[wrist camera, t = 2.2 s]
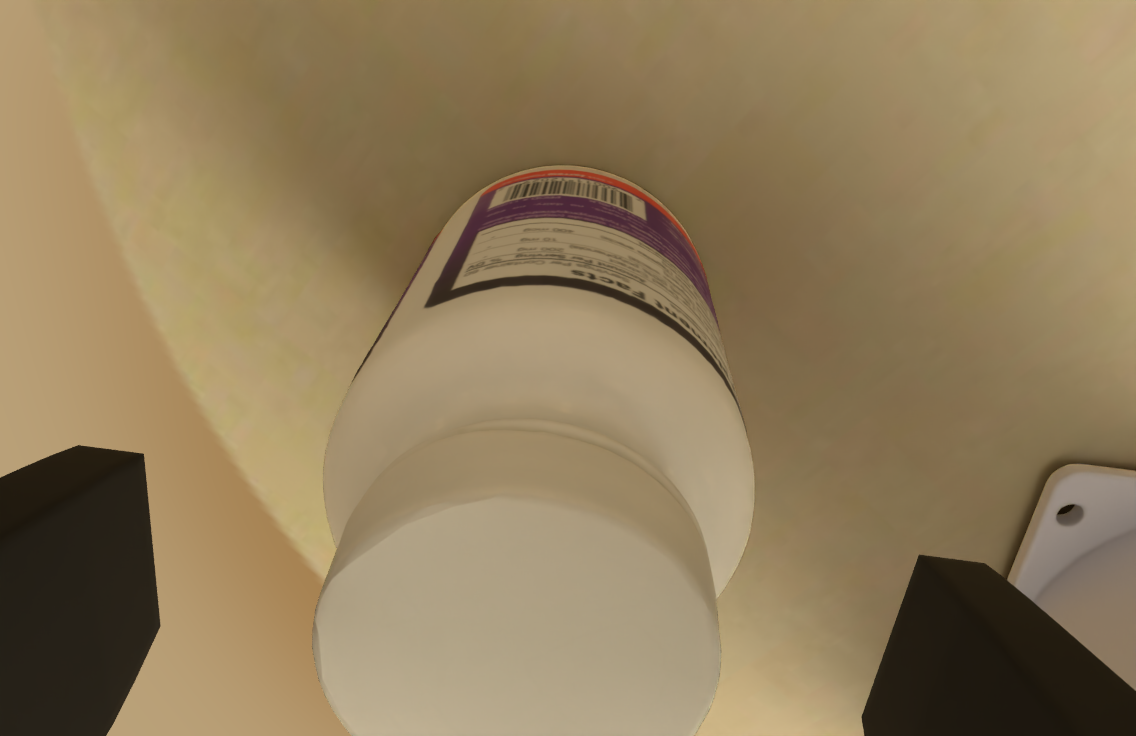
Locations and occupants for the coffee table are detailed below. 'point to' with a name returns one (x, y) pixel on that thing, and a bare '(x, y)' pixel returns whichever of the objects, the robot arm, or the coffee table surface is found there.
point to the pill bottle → (537, 478)
